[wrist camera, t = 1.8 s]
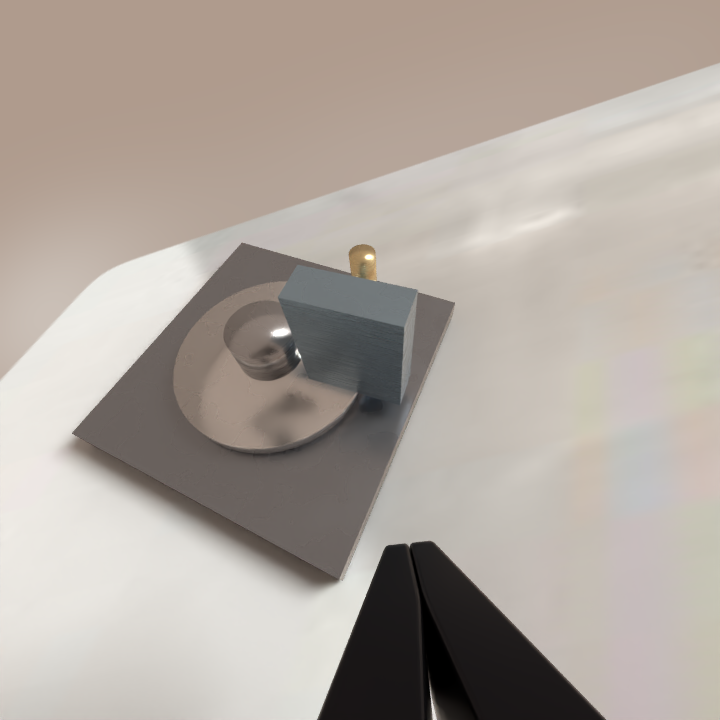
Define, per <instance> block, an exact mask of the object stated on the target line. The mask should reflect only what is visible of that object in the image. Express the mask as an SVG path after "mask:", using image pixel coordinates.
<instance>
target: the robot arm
mask: <svg viewBox="0 0 720 720" xmlns="http://www.w3.org/2000/svg"><path fill="white" fill-rule="evenodd" d="M429 685H430V686H429ZM430 690H431V695H432V700H433V704H434V708H435V713H436V717H437V720H606V719H605V718H604V717H603V716H602V715H601V714H600V713H599V712H598V711H597V710H596V709H595V708H594V707H593V706H592V705H591V704H590V702H589V701H588V700H587V699H586V698H585V697H584V696H583V695H582V694H581V693H580V692H579V691H578V690H577V689H576V688H575V687H574V686H573V685H572V684H571V683H570V682H569V681H568V680H567V679H566V678H565V677H564V676H563V675H562V674H561V673H560V672H559V671H558V670H557V669H556V667H555V666H554V665H553V664H552V663H551V662H550V661H549V660H548V659H547V658H546V657H545V656H544V655H543V654H542V653H541V652H540V651H539V650H538V649H537V648H536V647H535V646H534V645H533V644H532V643H531V642H530V641H529V640H528V639H527V638H526V637H525V636H524V635H523V634H522V632H521V631H520V630H519V629H518V628H517V627H516V626H515V625H514V624H513V623H512V622H511V621H510V620H509V619H508V618H507V617H506V616H505V615H504V614H503V613H502V612H501V611H500V610H499V609H498V608H497V607H496V606H495V605H494V604H493V603H492V602H491V601H490V600H489V599H488V597H487V596H486V595H485V594H484V593H483V592H482V591H481V590H480V589H479V588H478V587H477V586H476V585H475V584H474V583H473V582H472V581H471V580H470V579H469V578H468V577H467V576H466V575H465V574H464V573H463V572H462V571H461V570H460V569H459V568H458V567H457V566H456V565H455V564H454V563H453V561H452V560H451V559H450V558H449V557H448V556H447V555H446V554H445V553H444V552H443V551H442V550H441V549H440V548H439V547H438V546H437V545H436V544H435V543H434V542H432V541H424V542H415V543H412V544H411V545H410V548H409V546H408V545H407V544H396V545H388V546H386V547H385V549H384V551H383V554H382V556H381V559H380V561H379V564H378V566H377V569H376V572H375V574H374V577H373V579H372V582H371V584H370V587H369V589H368V592H367V594H366V597H365V599H364V602H363V605H362V607H361V610H360V612H359V615H358V617H357V620H356V622H355V625H354V627H353V630H352V633H351V635H350V638H349V640H348V643H347V645H346V648H345V650H344V653H343V655H342V658H341V660H340V663H339V666H338V668H337V671H336V673H335V676H334V678H333V681H332V683H331V686H330V688H329V691H328V694H327V696H326V699H325V701H324V704H323V706H322V709H321V711H320V714H319V716H318V719H317V720H433V719H432V708H431V697H430Z"/></svg>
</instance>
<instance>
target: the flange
mask: <svg viewBox="0 0 720 720" xmlns="http://www.w3.org/2000/svg"><path fill="white" fill-rule="evenodd" d="M417 294H418V290H416V289H411V288H406V287H402V286H397V285H392V284H387V283H383V282H378V281H373V280H368V279H364V278H359V277H354V276H349V275H344V274H340V273H335V272H330V271H325V270H321V269H316V268H311V267H306V266H302V265H297V266H296V268H295V270H294V271H293V273H292V275H291V276H290V278H289V279H288V281H279V282H271V283H265V284H261V285H256V286H253V287H250V288H247V289H244V290H242V291H240V292H237V293H235V294H233V295H231V296H229V297H228V298H226V299H224V300H223V301H221V302H220V303H218V304H217V305H215V306H214V307H213V308H211V309H210V310H209V311H208V312H206V313H205V314H204V315H203V316H202V317H201V318H200V319H199V320H198V321H197V322H196V324H195V325H194V326H193V327H192V329H191V330H190V331H189V333H188V334H187V336H186V337H185V339H184V341H183V343H182V345H181V347H180V349H179V352H178V355H177V358H176V361H175V366H174V373H173V384H174V392H175V396H176V399H177V402H178V405H179V407H180V409H181V411H182V413H183V414H184V415H185V417H186V418H187V419H188V421H189V422H190V423H191V424H192V425H193V426H194V427H196V428H197V429H198V430H199V431H200V432H201V433H202V434H204V435H205V436H206V437H207V438H209V439H211V440H212V441H214V442H215V443H217V444H219V445H221V446H224V447H226V448H228V449H232V450H236V451H239V452H246V453H274V452H281V451H285V450H289V449H293V448H296V447H299V446H301V445H304V444H306V443H309V442H311V441H312V440H314V439H316V438H318V437H320V436H322V435H323V434H325V433H326V432H327V431H329V430H330V429H332V428H333V427H334V426H335V425H336V424H337V423H339V422H340V421H341V420H342V419H343V418H344V417H345V416H346V414H347V413H348V412H349V411H350V410H351V409H352V407H353V406H354V404H355V403H356V401H357V400H358V398H359V396H360V394H363V395H366V396H370V397H373V398H377V399H380V400H384V401H387V402H390V403H394V404H397V405H400V404H401V401H402V398H403V395H404V392H405V389H406V386H407V383H408V380H409V377H410V371H411V360H412V349H413V338H414V327H415V316H416V305H417Z"/></svg>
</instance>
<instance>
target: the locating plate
mask: <svg viewBox="0 0 720 720" xmlns="http://www.w3.org/2000/svg"><path fill="white" fill-rule="evenodd" d="M349 260H350V268H351V273H347V272H344V271H340V270H337V269H333V268H330V267H326V266H323V265H319V264H316V263H312V262H308V261H305V260H301V259H298V258H294V257H291V256H287V255H284V254H280V253H277V252H273V251H270V250H266V249H262V248H259V247H255V246H252V245H248V244H245V243H241V245H240V246H239V247H238V248H237V249H236V250H235V251H234V252H233V253H232V255H231V256H230V257H229V258H228V259H227V260H226V261H225V262H224V264H223V265H222V266H221V267H220V268H219V269H218V270H217V271H216V273H215V274H214V275H213V276H212V277H211V278H210V279H209V280H208V281H207V283H206V284H205V285H204V286H203V287H202V288H201V289H200V290H199V292H198V293H197V294H196V295H195V296H194V297H193V298H192V299H191V301H190V302H189V303H188V304H187V305H186V306H185V307H184V308H183V309H182V311H181V312H180V313H179V314H178V315H177V316H176V317H175V318H174V320H173V321H172V322H171V323H170V324H169V325H168V326H167V327H166V328H165V330H164V331H163V332H162V333H161V334H160V335H159V336H158V337H157V339H156V340H155V341H154V342H153V343H152V344H151V345H150V346H149V348H148V349H147V350H146V351H145V352H144V353H143V354H142V355H141V356H140V358H139V359H138V360H137V361H136V362H135V363H134V364H133V365H132V367H131V368H130V369H129V370H128V371H127V372H126V373H125V374H124V376H123V377H122V378H121V379H120V380H119V381H118V382H117V383H116V384H115V386H114V387H113V388H112V389H111V390H110V391H109V392H108V393H107V395H106V396H105V397H104V398H103V399H102V400H101V401H100V402H99V404H98V405H97V406H96V407H95V408H94V409H93V410H92V411H91V412H90V414H89V415H88V416H87V417H86V418H85V419H84V420H83V421H82V423H81V424H80V425H79V426H78V427H77V428H76V429H75V430H74V431H73V433H72V434H74V435H76V436H77V437H79V438H81V439H83V440H85V441H86V442H88V443H90V444H92V445H94V446H96V447H97V448H99V449H101V450H103V451H105V452H107V453H108V454H110V455H112V456H114V457H116V458H118V459H119V460H121V461H123V462H125V463H127V464H128V465H130V466H132V467H134V468H136V469H138V470H139V471H141V472H143V473H145V474H147V475H149V476H150V477H152V478H154V479H156V480H158V481H159V482H161V483H163V484H165V485H167V486H169V487H170V488H172V489H174V490H176V491H178V492H180V493H181V494H183V495H185V496H187V497H189V498H191V499H192V500H194V501H196V502H198V503H200V504H201V505H203V506H205V507H207V508H209V509H211V510H212V511H214V512H216V513H218V514H220V515H222V516H223V517H225V518H227V519H229V520H231V521H233V522H234V523H236V524H238V525H240V526H242V527H243V528H245V529H247V530H249V531H251V532H253V533H254V534H256V535H258V536H260V537H262V538H264V539H265V540H267V541H269V542H271V543H273V544H275V545H276V546H278V547H280V548H282V549H284V550H285V551H287V552H289V553H291V554H293V555H295V556H296V557H298V558H300V559H302V560H304V561H306V562H307V563H309V564H311V565H313V566H315V567H317V568H318V569H320V570H322V571H324V572H326V573H327V574H329V575H331V576H333V577H335V578H337V579H338V580H342V581H343V579H344V576H345V574H346V571H347V569H348V567H349V564H350V562H351V559H352V557H353V555H354V552H355V550H356V547H357V545H358V542H359V540H360V538H361V535H362V533H363V530H364V528H365V526H366V523H367V521H368V518H369V516H370V514H371V511H372V509H373V506H374V504H375V501H376V499H377V497H378V494H379V492H380V489H381V487H382V485H383V482H384V480H385V477H386V475H387V473H388V470H389V468H390V465H391V463H392V460H393V458H394V456H395V453H396V451H397V448H398V446H399V444H400V441H401V439H402V436H403V434H404V431H405V429H406V427H407V424H408V422H409V419H410V417H411V415H412V412H413V410H414V407H415V405H416V403H417V400H418V398H419V395H420V393H421V390H422V388H423V386H424V383H425V381H426V378H427V376H428V374H429V371H430V369H431V366H432V364H433V362H434V359H435V357H436V354H437V352H438V349H439V347H440V345H441V342H442V340H443V337H444V335H445V333H446V330H447V328H448V325H449V323H450V320H451V318H452V315H453V310H454V306H455V303H454V302H450V301H447V300H443V299H440V298H436V297H432V296H429V295H425V294H422V293H418V294H417V305H416V316H415V327H414V338H413V349H412V360H411V371H410V377H409V380H408V383H407V386H406V389H405V392H404V395H403V398H402V401H401V404H400V405H397V404H394V403H390V402H387V401H384V400H380V399H377V398H373V397H370V396H366V395H363V394H360V396H359V398H358V400H357V401H356V403H355V404H354V406H353V407H352V409H351V410H350V411H349V412H348V413H347V414H346V416H345V417H344V418H343V419H342V420H341V421H340V422H339V423H337V424H336V425H335V426H334V427H333V428H332V429H330V430H329V431H327V432H326V433H325V434H323V435H322V436H320V437H318V438H316V439H314V440H312V441H311V442H309V443H306V444H304V445H301V446H299V447H296V448H293V449H289V450H285V451H281V452H274V453H246V452H239V451H236V450H232V449H228V448H226V447H224V446H221V445H219V444H217V443H215V442H214V441H212V440H211V439H209V438H207V437H206V436H205V435H204V434H202V433H201V432H200V431H199V430H198V429H197V428H196V427H194V426H193V425H192V424H191V423H190V422H189V421H188V419H187V418H186V417H185V415H184V414H183V413H182V411H181V409H180V407H179V405H178V402H177V399H176V396H175V392H174V384H173V373H174V366H175V361H176V358H177V355H178V352H179V349H180V347H181V345H182V343H183V341H184V339H185V337H186V336H187V334H188V333H189V331H190V330H191V329H192V327H193V326H194V325H195V324H196V322H197V321H198V320H199V319H200V318H201V317H202V316H203V315H204V314H205V313H206V312H208V311H209V310H210V309H211V308H213V307H214V306H215V305H217V304H218V303H220V302H221V301H223V300H224V299H226V298H228V297H229V296H231V295H233V294H235V293H237V292H240V291H242V290H244V289H247V288H250V287H253V286H256V285H261V284H265V283H271V282H279V281H288V279H289V278H290V276H291V275H292V273H293V271H294V270H295V268H296V266H297V265H302V266H306V267H311V268H316V269H321V270H325V271H330V272H335V273H340V274H344V275H349V276H354V277H359V278H364V279H368V280H373V281H377V277H376V255H375V250H374V248H373V247H371V246H369V245H364V244H362V245H357V246H355V247H353V248H352V249H351V250H350V251H349ZM378 282H379V281H378Z"/></svg>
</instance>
